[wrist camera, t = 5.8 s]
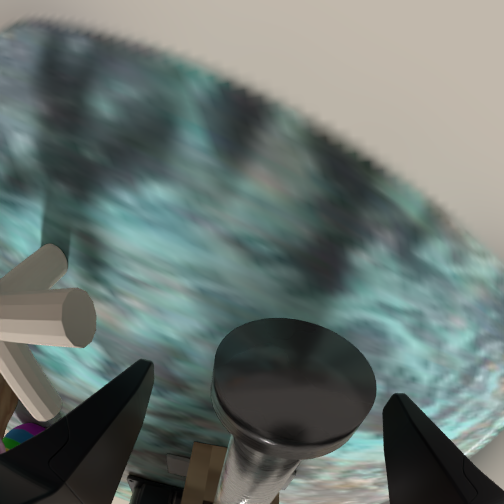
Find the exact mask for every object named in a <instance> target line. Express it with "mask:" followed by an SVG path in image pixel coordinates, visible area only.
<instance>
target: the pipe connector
mask: <svg viewBox="0 0 504 504" xmlns="http://www.w3.org/2000/svg"><path fill="white" fill-rule="evenodd" d="M67 268H68V266H67V260H66V257H65V255H64V253H63V252H62V251H61V250H60V249H59V248H58V247H57V246H55V245H53V244H46V245H44V246H42V247H41V248H40V249H38V250H37V251H36V252H34V253H33V254H32V255H30V256H29V257H28V258H26V259H25V260H24V261H23V262H21V263H20V264H19V265H17V266H16V267H15V268H14V269H12V270H11V271H10V272H9V273H7V274H6V275H5V276H4V277H2V278H1V279H0V373H1V374H2V376H3V377H4V379H5V380H6V381H7V383H8V384H9V386H10V387H11V389H12V390H13V391H14V393H15V394H16V395H17V397H18V398H19V399H20V401H21V402H22V403H23V405H24V406H25V407H26V409H27V410H28V411H29V412H30V414H31V415H32V416H33V417H34V418H35V419H36V420H38V421H48V420H50V419H52V418H54V417H55V416H56V415H57V414H58V413H59V411H60V410H61V407H62V400H61V397H60V396H59V394H58V393H57V391H56V390H55V389H54V387H53V386H52V384H51V383H50V381H49V380H48V378H47V377H46V375H45V373H44V372H43V370H42V369H41V367H40V365H39V364H38V362H37V361H36V359H35V357H34V356H33V354H32V352H31V350H30V349H29V347H28V345H27V344H36V345H47V346H60V347H75V348H84V347H86V346H87V345H88V344H89V343H91V342H92V339H93V337H94V334H95V331H96V312H95V308H94V304H93V301H92V300H91V298H90V297H89V295H88V293H87V292H86V291H84V290H81V289H79V288H67V289H52V290H49V289H50V288H51V287H52V286H53V285H54V284H55V283H56V282H57V281H58V280H59V279H60V278H61V277H63V276H64V275H65V273H66V272H67Z"/></svg>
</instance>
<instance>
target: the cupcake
mask: <svg viewBox="0 0 504 504" xmlns="http://www.w3.org/2000/svg"><path fill="white" fill-rule="evenodd" d="M17 403H18V397H17V395H16V394H15V393H14V391H13V390H12V389H11V387H10V386H9V384H8V383H7V381H6V380H5V379H4V377H3V376H2V374H1V373H0V454H1V453H4V452H6V449H5V445H4V443H3V441H2V439H3V437H4V434H5V430H6V427H7V424H8V422H9V420H10V418H11V416H12V415H13V413H14V411H15V409H16V406H17Z"/></svg>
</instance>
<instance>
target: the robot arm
mask: <svg viewBox="0 0 504 504" xmlns="http://www.w3.org/2000/svg"><path fill="white" fill-rule="evenodd" d="M153 384H154V364H153V362H152V361H150V360H146V359H139V360H138V361H137V362H135V363H134V364H133V365H131V366H130V367H129V368H127V369H126V370H125V371H123V372H122V373H121V374H120V375H118V376H117V377H116V378H114V379H113V380H112V381H110V382H109V383H108V384H106V385H105V386H104V387H102V388H101V389H100V390H98V391H97V392H96V393H94V394H93V395H92V396H91V397H89V398H88V399H87V400H85V401H84V402H83V403H81V404H80V405H79V406H77V407H76V408H75V409H73V410H72V411H71V412H69V413H68V414H67V415H66V416H64V417H62V418H61V419H60V420H58V421H57V422H56V423H54V424H53V425H51V426H50V427H48V428H47V429H45V430H44V431H42V432H40V433H39V434H37V435H35V436H34V437H32V438H30V439H28V440H26V441H25V442H23V443H21V444H19V445H17V446H15V447H14V448H12V449H10V450H8V451H6V452H4V453H1V454H0V504H111V503H112V500H113V498H114V495H115V493H116V490H117V488H118V485H119V482H120V480H121V477H122V475H123V472H124V470H125V467H126V465H127V462H128V460H129V457H130V455H131V452H132V450H133V447H134V445H135V442H136V440H137V437H138V435H139V432H140V430H141V427H142V424H143V421H144V418H145V414H146V410H147V407H148V403H149V399H150V395H151V392H152V388H153ZM382 415H383V442H384V456H385V463H386V471H387V480H388V489H389V499H390V504H504V491H503V490H502V489H501V488H500V487H499V486H498V485H496V484H495V483H494V482H493V481H492V480H490V479H489V478H488V477H487V476H486V475H485V474H484V473H482V472H481V471H480V470H479V469H478V468H477V467H476V466H475V465H474V464H473V463H472V462H471V461H470V460H469V459H468V458H467V457H466V456H465V455H464V454H463V453H462V452H461V451H460V450H459V449H458V448H457V446H456V445H455V444H454V443H453V442H452V441H451V440H450V439H449V438H448V437H447V436H446V435H445V434H444V433H443V432H442V431H441V430H440V429H439V428H438V427H437V426H436V425H435V424H434V423H433V422H432V421H431V420H430V419H429V418H428V417H427V416H426V414H425V413H424V412H423V411H422V410H421V409H420V408H419V407H418V406H417V405H416V404H415V403H414V402H413V401H412V400H411V399H410V398H409V397H408V396H407V395H406V394H404V393H395V394H393V395H392V396H391V398H390V399H389V401H388V402H387V404H386V405H385V407H384V409H383V413H382ZM127 481H128V484H129V486H130V488H131V491H132V496H131V500H130V503H129V504H181V500H182V496H183V491H184V489H180V488H175V487H171V486H167V485H163V484H159V483H155V482H151V481H147V480H144V479H140V478H137V477H133V476H128V477H127Z"/></svg>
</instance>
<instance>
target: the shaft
mask: <svg viewBox="0 0 504 504" xmlns="http://www.w3.org/2000/svg"><path fill="white" fill-rule="evenodd" d="M375 398H376V380H375V376H374V373H373V370H372V368H371V366H370V364H369V363H368V361H367V360H366V358H365V357H364V356H363V354H362V353H361V352H360V351H359V350H358V349H357V348H356V347H355V346H354V345H353V344H351V343H350V342H349V341H347V340H346V339H345V338H343V337H342V336H340V335H338V334H337V333H335V332H333V331H331V330H329V329H326V328H324V327H322V326H319V325H316V324H313V323H309V322H306V321H301V320H296V319H287V318H268V319H261V320H256V321H252V322H249V323H246V324H244V325H241V326H239V327H237V328H236V329H234V330H233V331H231V332H230V333H229V334H228V335H227V336H226V337H225V338H224V339H223V340H222V342H221V343H220V345H219V347H218V349H217V352H216V355H215V361H214V369H213V376H212V384H211V400H212V404H213V407H214V410H215V412H216V415H217V416H218V418H219V420H220V421H221V423H222V424H223V425H224V427H225V428H226V429H227V430H228V431H229V432H230V433H231V437H230V441H229V445H228V449H227V453H226V457H225V461H224V464H223V468H222V472H221V476H220V480H219V484H218V487H217V491H216V495H215V499H214V502H213V504H270V503H271V502H272V500H273V499H274V498H275V496H276V495H277V494H278V492H279V491H280V490H281V488H282V487H283V486H284V484H285V483H286V481H287V480H288V479H289V477H290V476H291V474H292V473H293V472H294V470H295V469H296V467H297V466H298V464H299V463H300V461H301V460H303V459H311V458H316V457H320V456H324V455H326V454H328V453H331V452H333V451H335V450H336V449H338V448H340V447H341V446H342V445H344V444H345V443H346V442H347V441H348V440H349V439H350V438H351V437H352V435H353V434H354V433H355V431H356V430H357V429H358V427H359V426H360V424H361V423H362V422H363V420H364V419H365V417H366V416H367V414H368V413H369V412H370V410H371V408H372V406H373V404H374V401H375Z"/></svg>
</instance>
